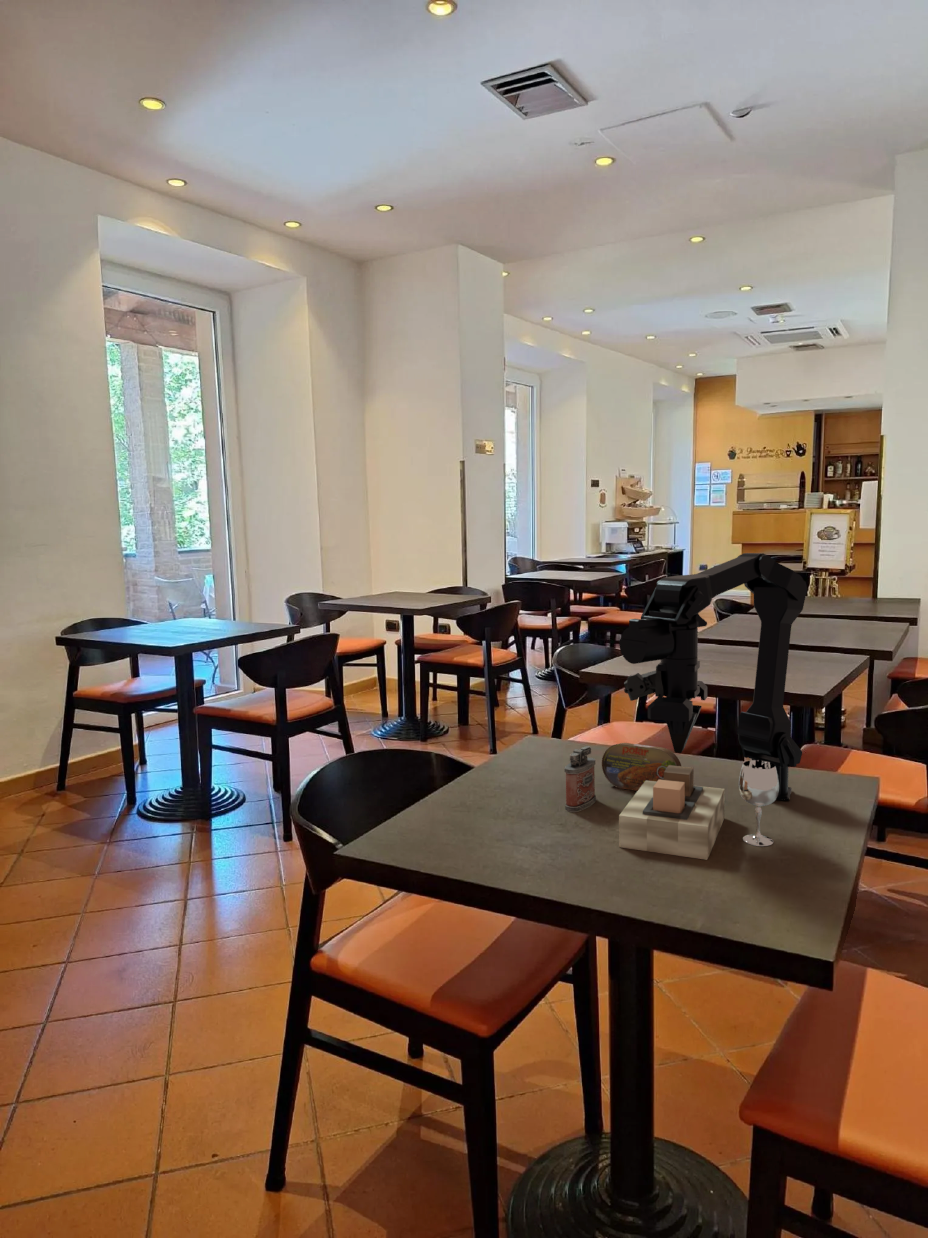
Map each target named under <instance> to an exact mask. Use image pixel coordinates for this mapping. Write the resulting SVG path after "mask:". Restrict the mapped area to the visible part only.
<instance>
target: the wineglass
mask: <svg viewBox="0 0 928 1238" xmlns="http://www.w3.org/2000/svg"><path fill="white" fill-rule="evenodd" d="M738 790H739V795H740V797H741V798H742V799H743V800H744V801H745V802H746V803H748V804H750V805H752V806H755V809H754V814H755V819H756V831H755V833H754V834H747V835H744V836H743V837H742V841H743V842H744V843H746V844H748V845H751V846H755V847H756V846H757V847H769V846H772V845H773V844H774V839H772V838H771V837H769V836H767V835H764V834H762V833H761V826H760V825H761V823H760V822H761V817H762V814H763V811H762V808H761V807H764V806H768V805H771V804H772V803H774V802H775V801H776V798H777V796H778V793H779V780H778V775H777V770H776V767H775V764H773V763H771V762H767V761H761V760H754V759H751V760H745V761H743V762H742V765H741V768H740V772H739V777H738Z"/></svg>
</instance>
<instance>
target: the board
mask: <svg viewBox="0 0 928 1238" xmlns="http://www.w3.org/2000/svg"><path fill="white" fill-rule="evenodd" d="M655 784H656V781H647V780H646V781H645V782H644V783H643V785H642V786H641V787H640V789H639V790H638V791H636V792H635V794H634V795H632V797H631V799H630V800H629V802H628V803H627V804H626V806H625V807H624V808H623V810H621V813H620V814H619V815H618V829H619V831H618V834H619V835H618V844H619V845H618V846H619V848H622V849H623V848H624V849H630V850H636V851H637V850H638V851H643V852H651V853H658V854H665V855H672V856H677V857H678V856H679V857H686V858H692V859H699V860H700V859H701V860H705V861H707V860H708V859H709V857H710V854H711V852H712V850H713V847H714V845H715V843H716V839H717V838H718V834H719V832H720V830H721V827H722V825H723V822H724V820H725V802H726V801H725V797H726V796H725V788H720V787H712V786H711V787H709V786H700V785H694V792H693V794H692V796H691V797H688V796H685V808H684V810H683V812H682V814H681V813H673V812H664V811H656V810H653V787H654V785H655Z"/></svg>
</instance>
